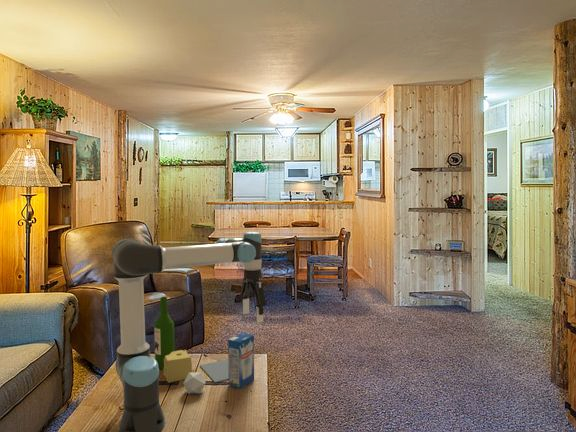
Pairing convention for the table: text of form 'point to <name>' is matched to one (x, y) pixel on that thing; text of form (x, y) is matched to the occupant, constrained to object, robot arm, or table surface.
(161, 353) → the wine bottle
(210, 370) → the slate mat
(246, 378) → the milk carton
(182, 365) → the cheese
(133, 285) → the robot arm
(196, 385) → the die
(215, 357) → the table surface
